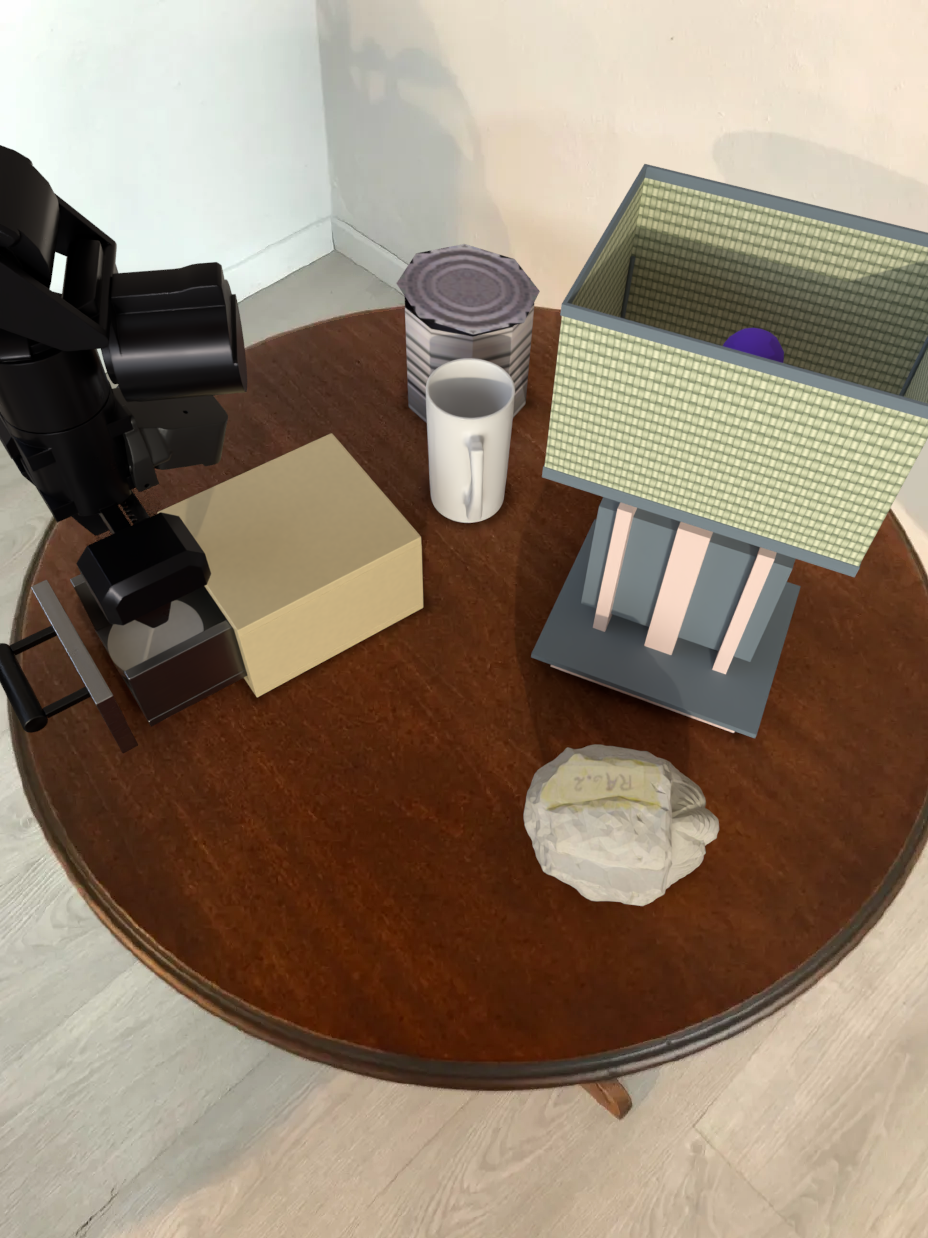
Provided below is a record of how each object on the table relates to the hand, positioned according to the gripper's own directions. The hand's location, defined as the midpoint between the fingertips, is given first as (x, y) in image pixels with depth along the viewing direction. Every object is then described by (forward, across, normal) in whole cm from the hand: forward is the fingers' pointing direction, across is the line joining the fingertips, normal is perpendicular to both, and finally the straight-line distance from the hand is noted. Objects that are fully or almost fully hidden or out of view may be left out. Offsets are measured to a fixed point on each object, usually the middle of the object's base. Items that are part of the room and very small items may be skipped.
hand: (129, 576), depth 67 cm
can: (+11, +12, -36) cm, 39 cm away
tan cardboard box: (+11, 0, -12) cm, 16 cm away
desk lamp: (+11, -19, -32) cm, 39 cm away
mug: (+11, 0, -28) cm, 30 cm away
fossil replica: (+11, -30, -18) cm, 37 cm away
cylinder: (+9, 0, 0) cm, 9 cm away
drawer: (+10, 0, +1) cm, 10 cm away
